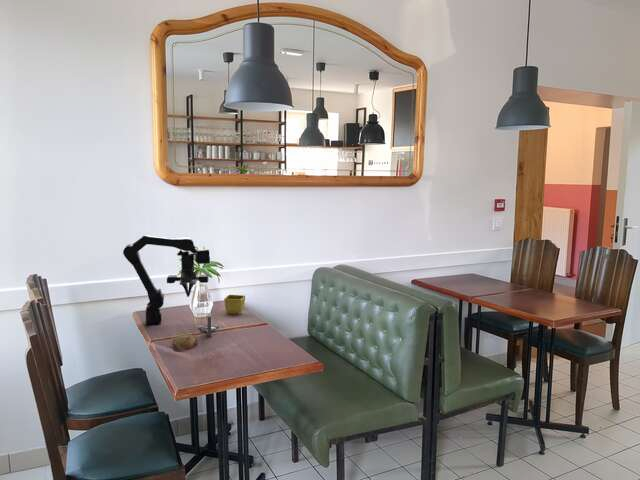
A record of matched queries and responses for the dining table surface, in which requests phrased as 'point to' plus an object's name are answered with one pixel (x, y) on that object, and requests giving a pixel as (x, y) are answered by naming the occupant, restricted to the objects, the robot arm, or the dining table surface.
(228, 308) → the flower pot
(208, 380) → the dining table surface
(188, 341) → the mottled green brown ball
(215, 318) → the dining table surface
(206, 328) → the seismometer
